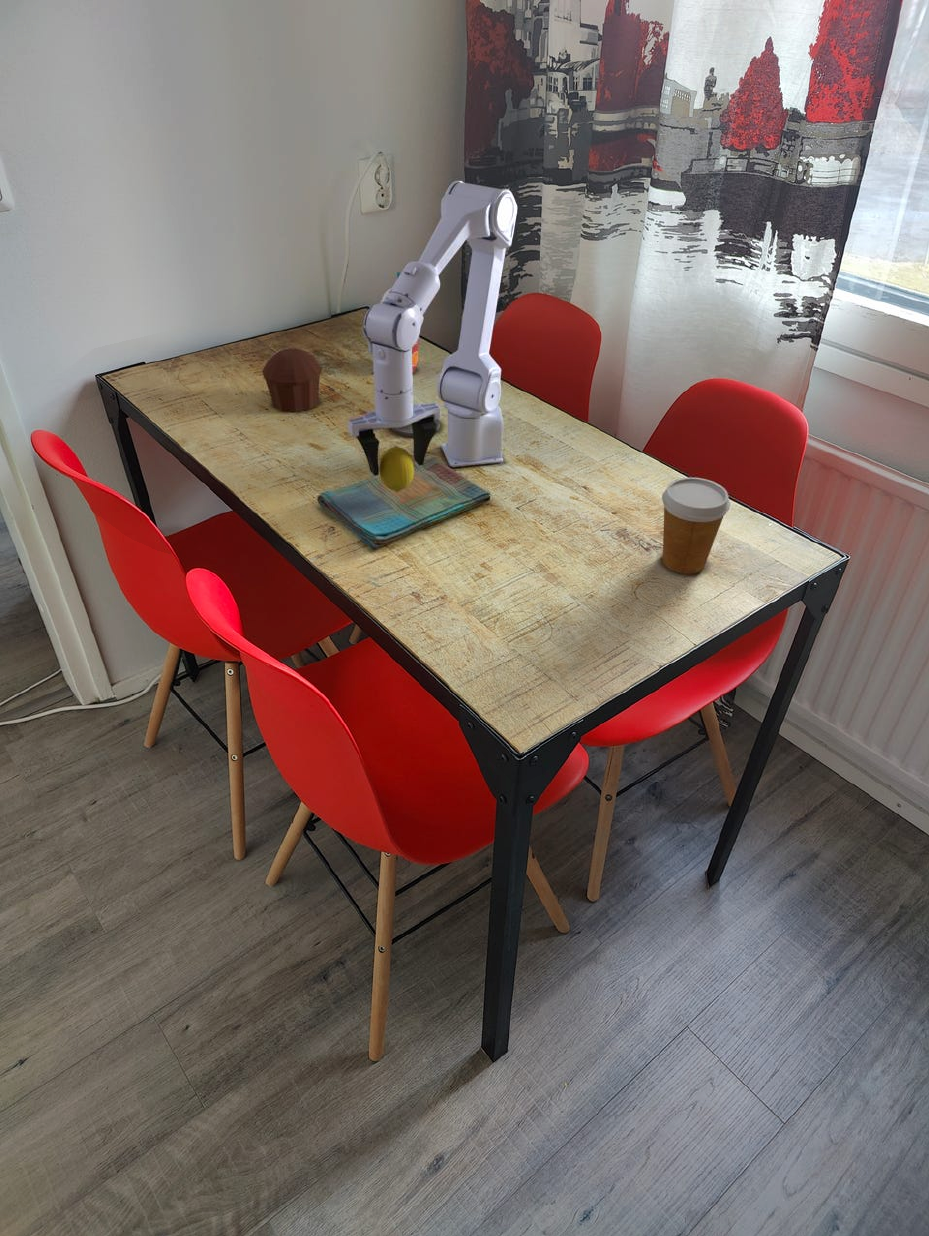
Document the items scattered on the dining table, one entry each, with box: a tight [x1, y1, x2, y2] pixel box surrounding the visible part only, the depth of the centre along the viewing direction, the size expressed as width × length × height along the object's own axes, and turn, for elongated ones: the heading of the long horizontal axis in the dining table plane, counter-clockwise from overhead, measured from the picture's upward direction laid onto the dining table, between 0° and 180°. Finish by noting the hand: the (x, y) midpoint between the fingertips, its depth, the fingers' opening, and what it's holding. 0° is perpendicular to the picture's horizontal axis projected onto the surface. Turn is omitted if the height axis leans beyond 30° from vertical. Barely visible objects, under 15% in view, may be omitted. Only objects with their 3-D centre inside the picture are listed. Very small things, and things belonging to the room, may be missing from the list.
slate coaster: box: [391, 419, 441, 438], centre depth 168 cm, size 9×9×1 cm
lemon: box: [378, 445, 414, 492], centre depth 142 cm, size 6×6×8 cm
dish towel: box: [316, 456, 491, 550], centre depth 146 cm, size 17×23×2 cm
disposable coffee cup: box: [661, 477, 731, 575], centre depth 131 cm, size 10×10×12 cm
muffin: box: [262, 347, 323, 413], centre depth 173 cm, size 12×11×10 cm
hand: (396, 467), depth 142 cm, fingers open, 7 cm apart
